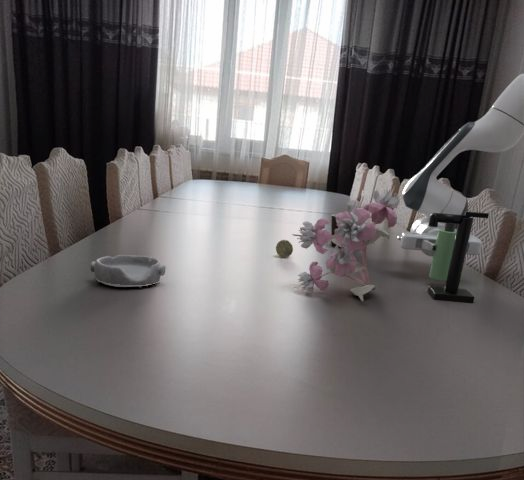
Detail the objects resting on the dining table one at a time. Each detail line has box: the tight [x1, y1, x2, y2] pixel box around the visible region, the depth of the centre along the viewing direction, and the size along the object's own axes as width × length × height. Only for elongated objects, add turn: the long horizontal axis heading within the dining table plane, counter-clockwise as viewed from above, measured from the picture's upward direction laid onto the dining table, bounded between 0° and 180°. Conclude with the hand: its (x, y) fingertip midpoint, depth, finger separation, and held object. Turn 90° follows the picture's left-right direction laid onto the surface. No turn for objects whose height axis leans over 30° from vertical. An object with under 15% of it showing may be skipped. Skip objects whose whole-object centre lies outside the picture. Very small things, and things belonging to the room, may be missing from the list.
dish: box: [90, 254, 167, 289], centre depth 114 cm, size 14×14×5 cm
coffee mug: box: [330, 213, 366, 249], centre depth 174 cm, size 12×9×10 cm
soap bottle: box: [428, 223, 457, 282], centre depth 130 cm, size 5×5×14 cm
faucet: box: [427, 211, 490, 304], centre depth 119 cm, size 12×7×20 cm, turn 85°
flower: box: [291, 184, 401, 302], centre depth 115 cm, size 20×22×25 cm
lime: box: [275, 239, 294, 259], centre depth 152 cm, size 4×5×5 cm
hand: (446, 249), depth 129 cm, fingers closed on soap bottle, 5 cm apart
